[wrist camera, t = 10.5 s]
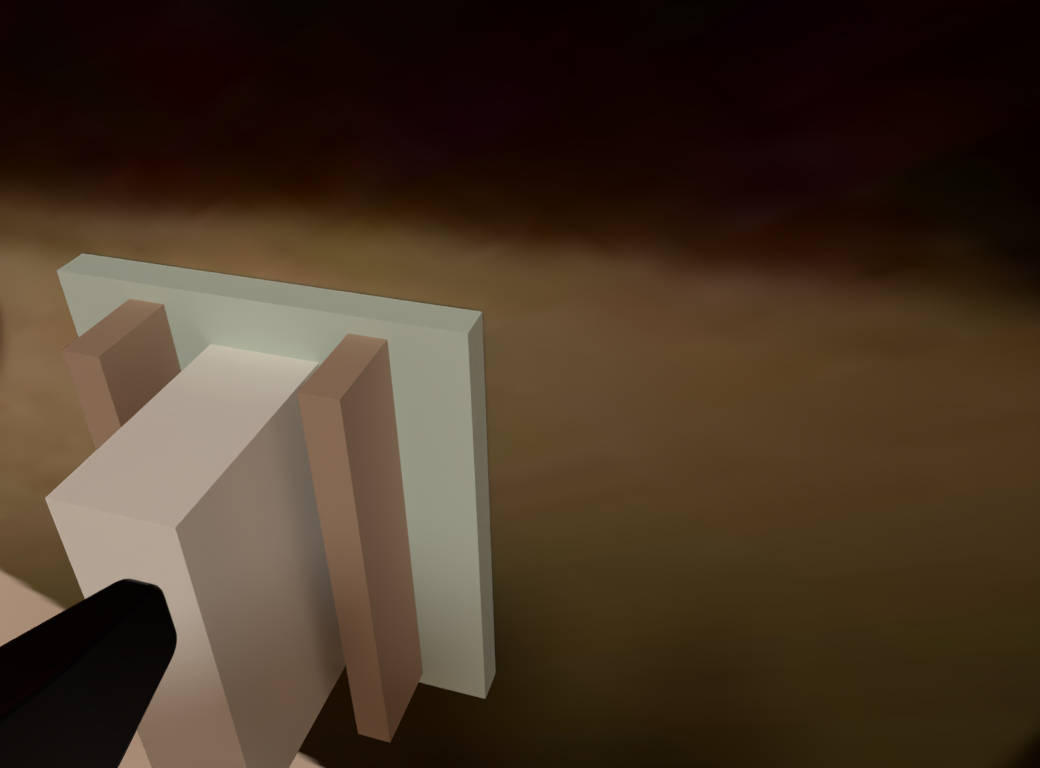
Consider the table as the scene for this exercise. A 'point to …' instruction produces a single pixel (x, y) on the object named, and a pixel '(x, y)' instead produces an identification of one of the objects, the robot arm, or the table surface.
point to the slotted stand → (335, 448)
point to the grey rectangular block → (217, 557)
